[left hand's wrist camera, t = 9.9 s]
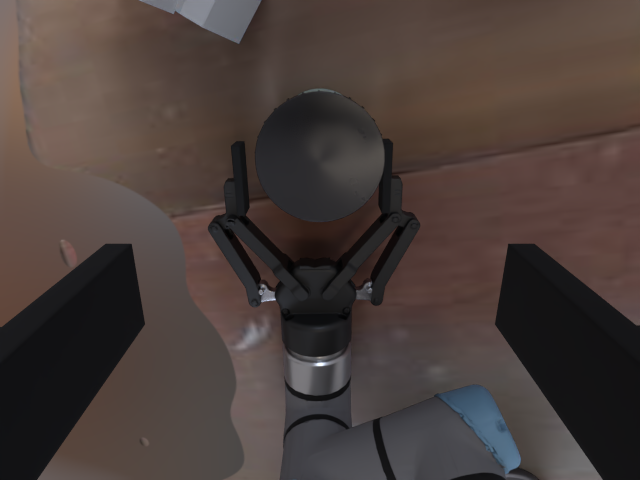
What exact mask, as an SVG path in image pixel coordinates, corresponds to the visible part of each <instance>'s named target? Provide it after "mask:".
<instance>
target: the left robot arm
mask: <svg viewBox="0 0 640 480" xmlns="http://www.w3.org/2000/svg"><path fill="white" fill-rule="evenodd" d="M144 325H145V322H144V316H143V310H142V304H141V298H140V292H139V286H138V280H137V274H136V268H135V262H134V255H133V249H132V244H105V245H104V246H102V247H101V248H100V249H99V250H97V251H96V252H95V253H94V254H92V255H91V256H90V257H89V258H87V259H86V260H85V261H84V262H82V263H81V264H80V265H79V266H78V267H76V268H75V269H74V270H72V271H71V272H70V273H69V274H67V275H66V276H65V277H64V278H63V279H61V280H60V281H59V282H57V283H56V284H55V285H54V286H52V287H51V288H50V289H49V290H47V291H46V292H45V293H44V294H43V295H41V296H40V297H39V298H38V299H36V300H35V301H34V302H32V303H31V304H30V305H29V306H28V307H26V308H25V309H24V310H23V311H21V312H20V313H19V314H18V315H16V316H15V317H14V318H13V319H11V320H10V321H9V322H8V323H6V324H5V325H4V326H3V327H0V480H37V479H38V477H39V476H40V475H41V473H42V472H43V470H44V469H45V467H46V466H47V464H48V463H49V462H50V460H51V459H52V457H53V456H54V454H55V453H56V452H57V450H58V449H59V447H60V446H61V444H62V443H63V442H64V440H65V439H66V437H67V436H68V434H69V433H70V431H71V430H72V429H73V427H74V426H75V424H76V423H77V421H78V420H79V419H80V417H81V416H82V414H83V413H84V411H85V410H86V408H87V407H88V406H89V404H90V403H91V401H92V400H93V398H94V397H95V395H96V394H97V393H98V391H99V390H100V388H101V387H102V385H103V384H104V383H105V381H106V380H107V378H108V377H109V375H110V374H111V372H112V371H113V370H114V368H115V367H116V365H117V364H118V362H119V361H120V359H121V358H122V357H123V355H124V354H125V352H126V351H127V349H128V348H129V347H130V345H131V344H132V342H133V341H134V339H135V338H136V336H137V335H138V333H139V332H140V331H141V329H142V328H143V326H144ZM495 325H496V326H497V328H498V329H499V331H500V332H501V334H502V335H503V336H504V338H505V339H506V341H507V342H508V344H509V345H510V347H511V348H512V349H513V351H514V352H515V354H516V355H517V357H518V358H519V359H520V361H521V362H522V364H523V365H524V367H525V368H526V370H527V371H528V372H529V374H530V375H531V377H532V378H533V380H534V381H535V383H536V384H537V385H538V387H539V388H540V390H541V391H542V393H543V394H544V395H545V397H546V398H547V400H548V401H549V403H550V404H551V406H552V407H553V408H554V410H555V411H556V413H557V414H558V416H559V417H560V419H561V420H562V421H563V423H564V424H565V426H566V427H567V429H568V430H569V431H570V433H571V434H572V436H573V437H574V439H575V440H576V442H577V443H578V444H579V446H580V447H581V449H582V450H583V452H584V453H585V455H586V456H587V457H588V459H589V460H590V462H591V463H592V465H593V466H594V467H595V469H596V470H597V472H598V473H599V475H600V476H601V478H602V479H603V480H640V326H636V325H635V324H634V323H632V322H631V321H630V320H629V319H627V318H626V317H625V316H624V315H622V314H621V313H620V312H619V311H617V310H616V309H615V308H614V307H612V306H611V305H610V304H609V303H607V302H606V301H605V300H604V299H603V298H601V297H600V296H599V295H598V294H596V293H595V292H594V291H593V290H591V289H590V288H589V287H588V286H586V285H585V284H584V283H583V282H581V281H580V280H579V279H578V278H576V277H575V276H574V275H573V274H571V273H570V272H569V271H568V270H566V269H565V268H564V267H563V266H561V265H560V264H559V263H558V262H556V261H555V260H554V259H553V258H551V257H550V256H549V255H548V254H546V253H545V252H544V251H543V250H541V249H540V248H539V247H538V246H536V245H535V244H508V249H507V255H506V261H505V268H504V274H503V280H502V286H501V292H500V298H499V304H498V310H497V316H496V322H495Z"/></svg>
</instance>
